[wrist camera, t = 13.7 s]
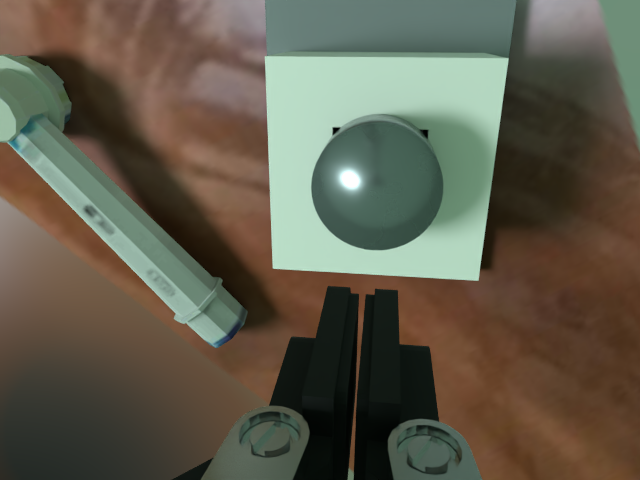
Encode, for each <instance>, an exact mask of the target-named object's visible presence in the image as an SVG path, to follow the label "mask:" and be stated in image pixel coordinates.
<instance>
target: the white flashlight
mask: <svg viewBox="0 0 640 480" xmlns="http://www.w3.org/2000/svg"><path fill="white" fill-rule="evenodd" d="M63 83H64V82H63V80H62V79H61V78H60V77H59V76H58V75H57V74H56V73H55V72H54V71H53V70H52V69H51V68H50V67H49V66H48V65H47V66H44V65H42V64H40V63H38V62H36V61H33V60H31V59H29V58H28V56H12V55H10V54H5V55H0V142H7V143H8V144H9V145H10V146H11V147H12V148H13V149H14V150H15V151H16V152H17V153H18V154H19V155H20V156H21V157H22V158H23V159H24V160H25V161H26V162H27V163H28V164H29V165H30V166H31V167H32V168H33V169H34V170H35V171H36V172H37V173H38V174H39V175H40V176H41V177H42V178H43V179H44V180H45V181H46V182H47V183H48V184H49V185H50V186H51V187H52V188H53V189H54V190H55V191H56V192H57V193H58V194H59V195H60V196H61V197H62V198H63V199H64V200H65V201H66V202H67V203H68V204H69V206H70V207H71V208H72V209H73V210H74V211H75V212H76V213H77V214H78V215H79V216H80V217H81V218H82V219H83V220H84V221H85V222H86V223H87V224H88V225H89V226H90V227H91V228H92V229H93V230H94V231H95V232H96V233H97V234H98V235H99V236H100V237H101V238H102V239H103V240H104V241H105V242H106V243H107V244H108V245H109V246H110V247H111V248H112V249H113V250H114V251H115V252H116V253H117V254H118V255H119V256H120V257H121V258H122V259H123V260H124V261H125V262H126V263H127V264H128V265H129V266H130V267H131V268H132V270H133V271H134V272H135V273H136V274H137V275H138V276H139V277H140V278H141V279H142V280H143V281H144V282H145V283H146V284H147V285H148V286H149V287H150V288H151V289H152V290H153V291H154V292H155V293H156V294H157V295H158V296H159V297H160V298H161V299H162V300H163V301H164V302H165V303H166V304H167V305H168V306H169V307H170V308H171V309H172V310H173V311H174V312H175V313H176V315H175V317H174V319H175V320H176V321H178V322H181V323H183V324H184V323H187V324H188V325H189V326H190V327H191V328H192V329H193V330H194V331H195V332H196V333H197V334H199V335H200V336H201V337H202V338H203V339H204V340H205V341H206V342H207V343H208V344H209V345H211V346H213V347H216V348H218V347H220V346H221V345H223V344H224V343H226V342H228V341H229V340H231V339H232V338H233V337H234V335H235V334H236V333H237V332H238V331H239V329H240V328H241V327H242V326H243V325H244V323H245V320H246V316H247V313H248V311H247V310H246V309H245V308H244V307H243V306H242V305H241V304H240V303H239V302H238V301H237V300H236V299H235V298H234V297H233V296H232V295H231V294H229V293H228V292H227V291H226V290H225V289H224V288H223V287H222V286H221V284H222V281H223V280H222V279H221V278H220V277H212V276H211V275H210V274H209V273H208V272H207V271H206V270H205V269H204V268H203V267H202V266H201V265H200V264H199V263H198V262H196V261H195V260H194V259H193V258H192V257H191V256H190V255H189V254H188V253H187V252H186V251H185V250H184V249H183V248H182V247H181V246H180V245H179V244H178V243H177V242H176V241H175V240H174V239H172V238H171V237H170V236H169V235H168V234H167V233H166V232H165V231H164V230H163V229H162V228H161V227H160V226H159V225H158V224H157V223H156V222H155V221H154V220H153V219H152V218H151V217H150V216H148V215H147V214H146V213H145V212H144V211H143V210H142V209H141V208H140V207H139V206H138V205H137V204H136V203H135V202H134V201H133V200H132V199H131V198H130V197H129V196H128V195H127V194H125V193H124V192H123V191H122V190H121V189H120V188H119V187H118V186H117V185H116V184H115V183H114V182H113V181H112V180H111V179H110V178H109V177H108V176H107V175H106V174H105V173H104V172H103V171H101V170H100V169H99V168H98V167H97V166H96V165H95V164H94V163H93V162H92V161H91V160H90V159H89V158H88V157H87V156H86V155H85V154H84V153H83V152H82V151H81V150H80V149H78V148H77V147H76V146H75V145H74V144H73V143H72V142H71V141H70V140H69V139H68V138H67V137H66V136H65V135H64V134H63V133H62V131H63V130H64V125H65V124H66V123H67V122H68V121H69V120H70V114H71V105H72V102H70V100H69V98H68V96H67V93H66V91H65V89H64V87H63Z"/></svg>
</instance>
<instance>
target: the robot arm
mask: <svg viewBox="0 0 640 480" xmlns="http://www.w3.org/2000/svg"><path fill="white" fill-rule="evenodd" d="M358 306H359V294H352V293H351V291H350V287H334V286H328V288H327V292H326V296H325V300H324V305H323V309H322V313H321V317H320V322H319V326H318V330H317V334H316V338H305V337H291V339H290V341H289V344H288V347H287V351H286V354H285V357H284V360H283V363H282V366H281V370H280V373H279V376H278V379H277V382H276V385H275V389H274V392H273V395H272V398H271V401H270V404H269V406H266V407H260V408H257V409H254V410H251V411H249V412H247V413H246V414H245V415H243V416H242V417H240V418H239V419H238V421H237V422H236V423H235V424H234V425H233V427H232V429H231V430H230V432H229V434H228V435H227V437H226V438H225V440H224V442H223V444H222V445H221V447H220V448H219V451H218V452H217V454H216V455H215V457H214V458H212V459H210V460H208V461H206V462H204V463H203V464H201V465H199V466H197V467H195V468H193V469H191V470H189V471H187V472H185V473H184V474H182V475H180V476H178V477H176V478H174V479H173V480H347V479H348V468H349V457H350V446H351V435H352V425H353V414H354V403H355V389H356V363H357V334H358ZM354 480H482V478H481V476H480V473H479V470H478V468H477V465H476V463H475V460H474V457H473V455H472V452H471V450H470V447H469V446H468V444H467V442H466V440H465V439H464V438H463V437H462V436H461V435H460V434H459V433H458V432H457V431H456V430H455V429H453V428H451V427H449V426H448V425H446V424H444V423H441V422H439V417H438V409H437V402H436V394H435V386H434V378H433V370H432V362H431V354H430V348H429V346H415V345H402V344H399V315H398V290H383V289H375V295H368V294H366V299H365V310H364V322H363V333H362V345H361V356H360V368H359V380H358V391H357V407H356V432H355V459H354Z"/></svg>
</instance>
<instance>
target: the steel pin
mask: <svg viewBox="0 0 640 480" xmlns="http://www.w3.org/2000/svg"><path fill="white" fill-rule="evenodd" d="M311 193H312V200H313V204H314V207H315V210H316V212H317V214H318V216H319V218H320V220H321V221H322V223H323V224H324V225H325V227H326V228H327V229H328V230H329V231H330V232H331V233H332V234H333V235H334V236H336V237H337V238H339V239H340V240H342V241H343V242H345V243H347V244H349V245H352V246H354V247H357V248H361V249H365V250H388V249H393V248H397V247H400V246H402V245H405V244H407V243H409V242H411V241H413V240H414V239H416V238H417V237H418V236H420V235H421V234H422V233H423V232H424V231H425V230H426V229H427V228H428V227H429V226H430V225H431V223H432V222H433V220H434V219H435V217H436V215H437V213H438V211H439V208H440V205H441V202H442V197H443V176H442V172H441V168H440V165H439V162H438V160H437V157H436V154H435V152H434V149H433V147H432V145H431V143H430V142H429V140H428V138H427V137H426V136H425V135H424V133H423V132H422V131H420V130H419V129H418V128H417V127H416V126H415V125H413V124H412V123H410V122H408V121H406V120H404V119H402V118H399V117H397V116H392V115H387V114H371V115H366V116H362V117H359V118H356V119H354V120H352V121H350V122H348V123H346V124H345V125H343V126H342V127H341V128H340V129H338V130H337V131H336V132H335V133H334V135H333V136H332V137H331V138H330V140H329V141H328V143H327V144H326V146H325V148H324V149H323V151H322V153H321V155H320V157H319V158H318V160H317V162H316V165H315V168H314V171H313V175H312V182H311Z"/></svg>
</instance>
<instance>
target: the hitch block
mask: <svg viewBox="0 0 640 480" xmlns="http://www.w3.org/2000/svg"><path fill="white" fill-rule="evenodd" d="M516 1H517V0H265V10H266V38H267V56H265V68H266V95H267V123H268V150H269V177H270V204H271V231H272V258H273V269H289V270H306V271H323V272H340V273H357V274H374V275H391V276H408V277H425V278H442V279H460V280H477V281H478V279H479V272H480V265H481V257H482V250H483V243H484V235H485V228H486V221H487V213H488V206H489V199H490V191H491V184H492V177H493V169H494V162H495V155H496V147H497V140H498V133H499V126H500V118H501V111H502V104H503V96H504V89H505V82H506V74H507V67H508V60H509V52H510V45H511V38H512V30H513V23H514V16H515V8H516ZM371 114H387V115H392V116H397V117H399V118H402V119H404V120H406V121H408V122H410V123H412V124H413V125H415V126H416V127H417V128H418V129H419V130H420V131H422V132H423V133H424V135H425V136H426V137H427V138H428V140H429V142H430V143H431V145H432V147H433V149H434V152H435V154H436V157H437V160H438V162H439V165H440V168H441V172H442V176H443V197H442V202H441V205H440V208H439V211H438V213H437V215H436V217H435V219H434V220H433V222H432V223H431V225H430V226H429V227H428V228H427V229H426V230H425V231H424V232H423V233H422V234H421V235H420V236H418V237H417V238H416V239H414V240H413V241H411V242H409V243H407V244H405V245H402V246H400V247H397V248H393V249H388V250H365V249H361V248H357V247H354V246H352V245H349V244H347V243H345V242H343V241H342V240H340V239H339V238H337V237H336V236H334V235H333V234H332V233H331V232H330V231H329V230H328V229H327V228H326V227H325V225H324V224H323V223H322V221H321V220H320V218H319V216H318V214H317V212H316V210H315V207H314V204H313V200H312V193H311V182H312V175H313V171H314V168H315V165H316V162H317V160H318V158H319V157H320V155H321V153H322V151H323V149H324V148H325V146H326V144H327V143H328V141H329V140H330V138H331V137H332V136H333V135H334V133H335V132H336V131H337V130H338V129H340V128H341V127H342V126H343V125H345V124H346V123H348V122H350V121H352V120H354V119H356V118H359V117H362V116H366V115H371Z"/></svg>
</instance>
